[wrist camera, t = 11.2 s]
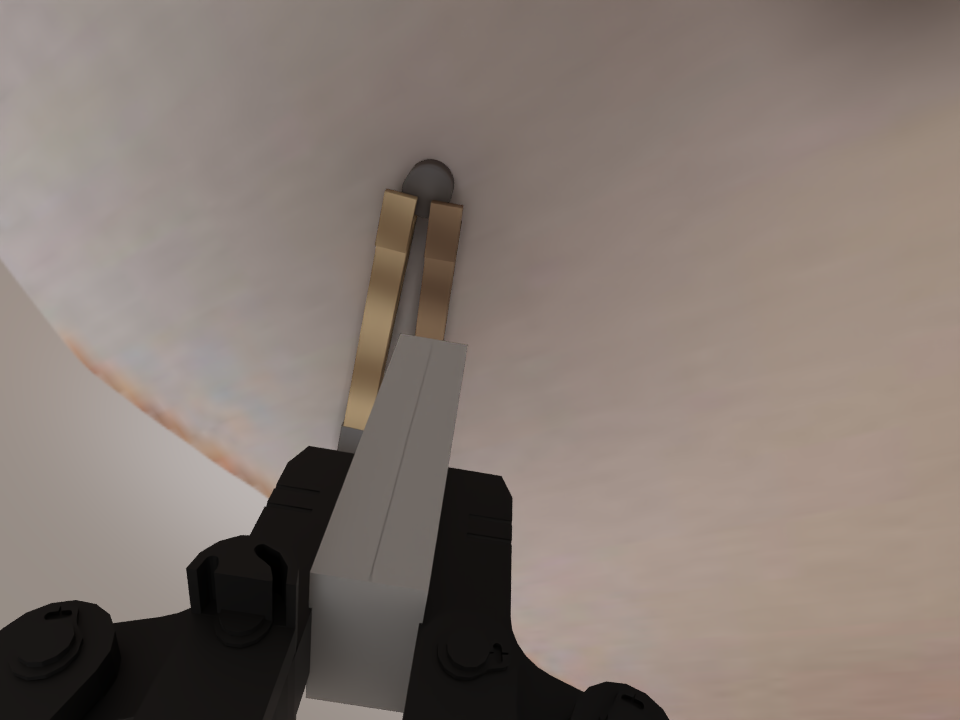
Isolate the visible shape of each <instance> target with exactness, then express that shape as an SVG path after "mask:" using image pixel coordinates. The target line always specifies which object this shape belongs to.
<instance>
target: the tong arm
mask: <svg viewBox="0 0 960 720" xmlns="http://www.w3.org/2000/svg"><path fill="white" fill-rule="evenodd" d="M417 199H418V197H417V196H413V195H409V194H405V193H402V192H398V191H394V190H390V189H386V190H385V192H384V198H383V203H382V209H381V214H380V220H379V225H378V231H377V236H376V242H375V246H376V250H375V256H374V261H373V267H372V272H371V277H370V283H369V288H368V294H367V299H366V305H365V310H364V316H363V321H362V327H361V332H360V338H359V343H358V349H357V354H356V359H355V365H354V370H353V376H352V381H351V387H350V392H349V398H348V403H347V409H346V414H345V419H344V422H343V424H342V427H341V433H340V438H339V444H338V449H337V451H342V452H348V453H354V454H355V452H356V450H357V447H358V444H359V442H360V439H361V436H362V434H363V431H364V428H365V426H366V423H367V421H368V418H369V415H370V413H371V410H372V407H373V405H374V402H375V399H376V397H377V394H378V392H379V389H380V386H381V384H382V380H383V376H384V371H385V366H386V361H387V357H388V352H389V347H390V342H391V338H392V333H393V328H394V324H395V319H396V314H397V309H398V305H399V300H400V295H401V290H402V286H403V281H404V276H405V272H406V267H407V262H408V257H409V253H410V248H411V243H412V239H413V234H414V229H415V224H416V220H417V215H415V214H414V213H415V209H416V204H417Z"/></svg>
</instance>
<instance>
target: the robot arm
mask: <svg viewBox="0 0 960 720" xmlns="http://www.w3.org/2000/svg"><path fill="white" fill-rule="evenodd" d="M467 346H468V345H465V344H459V343H453V342H447V341H442V340H436V339H430V338H424V337H418V336H413V335H407V334H400V336H399V339H398V341H397V344H396V347H395V349H394V352H393V355H392V357H391V360H390V363H389V365H388V368H387V370H386V373H385V376H384V378H383V381H382V384H381V386H380V389H379V392H378V394H377V397H376V399H375V402H374V405H373V407H372V410H371V413H370V415H369V418H368V421H367V423H366V426H365V428H364V431H363V434H362V436H361V439H360V442H359V444H358V447H357V450H356V452H355V454H354V453H348V452H342V451H336V450H330V449H324V448H318V447H312V446H308V447H307V448H306V449H304V450H303V451H302V452H301V453H299V454H298V455H297V456H296V457H294V458H293V459H292V460H290V461H289V462H288V463H287V465H286V467H285V469H284V471H283V473H282V475H281V477H280V479H279V480H278V482H277V485H276V488H274V490H273V492H272V494H271V496H270V498H269V500H268V501H267V506H266V507H264V509H263V511H262V513H261V515H260V517H259V519H258V521H257V523H256V524H255V527H254V528H253V530H252V532H251V534H250V535H247V536H246V535H240V536H237V537H233V538H229V539H226V540H222V541H219V542H217V543H215V544H214V545H212V546H210V547H209V548H207V549H205V550H204V551H202V552H200V553H199V554H198V555H197V557H196V558H195V559H194V560H193V561H192V562H191V563H190V565H189V566H188V567H187V568H186V571H187V579H188V588H189V596H190V604H191V608H189V609H187V610H185V611H182V612H180V613H177V614H172V615H167V616H163V617H157V618H149V619H142V620H134V621H127V622H119V623H113V622H112V619H111V617H110V614H108V613H107V612H106V611H105V610H103V609H102V608H100V607H99V606H98V605H97V604H93V603H88V602H83V601H78V600H73V601H65V602H57V603H51V604H48V605H46V606H43V607H40V608H38V609H35V610H32V611H30V612H27V613H25V614H24V615H22V616H21V617H19V618H18V619H16V620H15V621H13V622H12V623H10V624H9V625H7V626H6V627H4V628H3V629H2V630H0V720H296V714H297V710H298V708H299V704H300V701H301V698H302V695H303V692H304V689H305V685H306V698H311V699H317V700H324V701H330V702H338V703H344V704H350V705H357V706H363V707H370V708H377V709H383V710H390V711H396V712H403V719H402V720H669V718H668V717H667V715H666V714H665V712H664V710H663V709H662V708H661V707H660V706H659V705H658V704H656V703H655V702H654V701H653V700H652V699H651V698H650V697H649V696H648V695H647V694H646V693H644V692H641V691H639V690H637V689H635V688H633V687H631V686H629V685H627V684H623V683H614V682H603V683H600V684H597V685H594V686H591V687H589V688H588V689H587V690H586V691H585V692H583V691H581V690H579V689H577V688H575V687H573V686H571V685H569V684H567V683H565V682H563V681H561V680H559V679H557V678H555V677H553V676H551V675H549V674H548V673H546V672H544V671H543V670H541V669H540V668H538V667H537V666H536V665H535V664H534V663H533V662H532V661H531V660H530V659H529V658H528V657H526V655H525V654H524V652H523V651H522V649H521V648H520V647H519V645H518V644H517V641H516V639H515V636H514V634H513V631H512V625H511V554H512V545H511V541H512V525H511V524H512V496H511V494H510V492H509V490H508V488H507V486H506V484H505V482H504V480H503V478H502V476H498V475H492V474H486V473H480V472H474V471H467V470H461V469H455V468H449V467H448V465H449V459H450V452H451V446H452V440H453V434H454V427H455V421H456V415H457V409H458V402H459V396H460V390H461V384H462V377H463V371H464V365H465V359H466V352H467Z"/></svg>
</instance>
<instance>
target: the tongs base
mask: <svg viewBox="0 0 960 720" xmlns="http://www.w3.org/2000/svg"><path fill="white" fill-rule="evenodd" d="M453 188H454V179H453V175H452V173H451V171H450V170H449V168H448V167H447V166H446V165H445V164H443V163H442V162H440V161H437V160H432V159H428V160H423V161H421V162H419V163H417V164H416V165H415V166H414V167H413V168H412V170H411V172H410V173H409V175H408V176H407V178H406V179H405V181H404V183H403V187H402V193H405V194H409V195H413V196H417V197H418V199H417V204H416V209H415V213H414V214H415V215H417V216H419V217H423V218H429V222H428V230H427V238H426V246H425V253H424V257H425V262H424V270H423V277H422V285H421V293H420V301H419V309H418V317H417V325H416V332H415V336H418V337H424V338H430V339H436V340H442V341H443V340H444V334H445V327H446V321H447V314H448V307H449V301H450V294H451V288H452V281H453V275H454V268H455V262H456V255H457V249H458V242H459V236H460V229H461V223H462V221H461V218H462V211H463V205H458V204H453V203H449V202H450V199H451V195H452V192H453Z"/></svg>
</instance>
